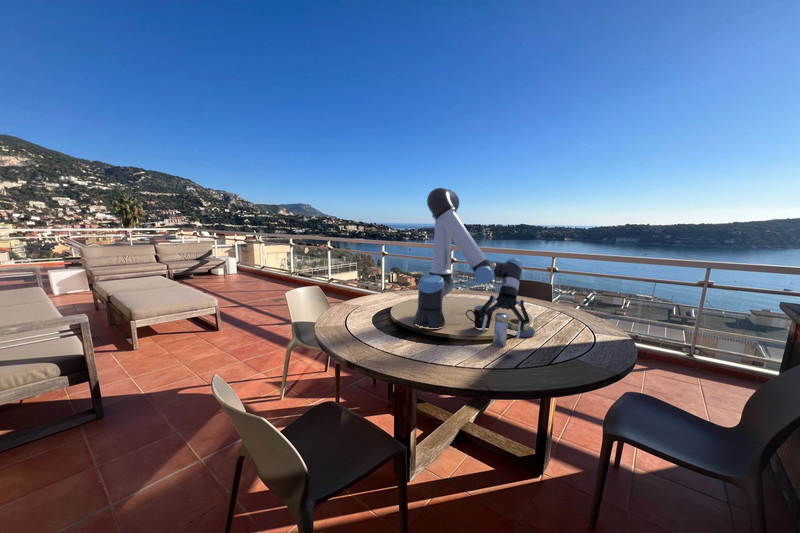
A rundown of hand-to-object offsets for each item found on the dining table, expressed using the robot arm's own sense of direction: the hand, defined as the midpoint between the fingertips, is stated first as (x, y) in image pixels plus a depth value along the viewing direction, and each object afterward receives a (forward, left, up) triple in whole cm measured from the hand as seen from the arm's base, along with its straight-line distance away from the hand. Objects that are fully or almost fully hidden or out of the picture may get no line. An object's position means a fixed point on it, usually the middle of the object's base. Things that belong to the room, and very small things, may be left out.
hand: (499, 333), depth 119 cm
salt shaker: (-2, +2, -6) cm, 6 cm away
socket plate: (-11, +20, -6) cm, 23 cm away
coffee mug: (-20, +5, -6) cm, 21 cm away
